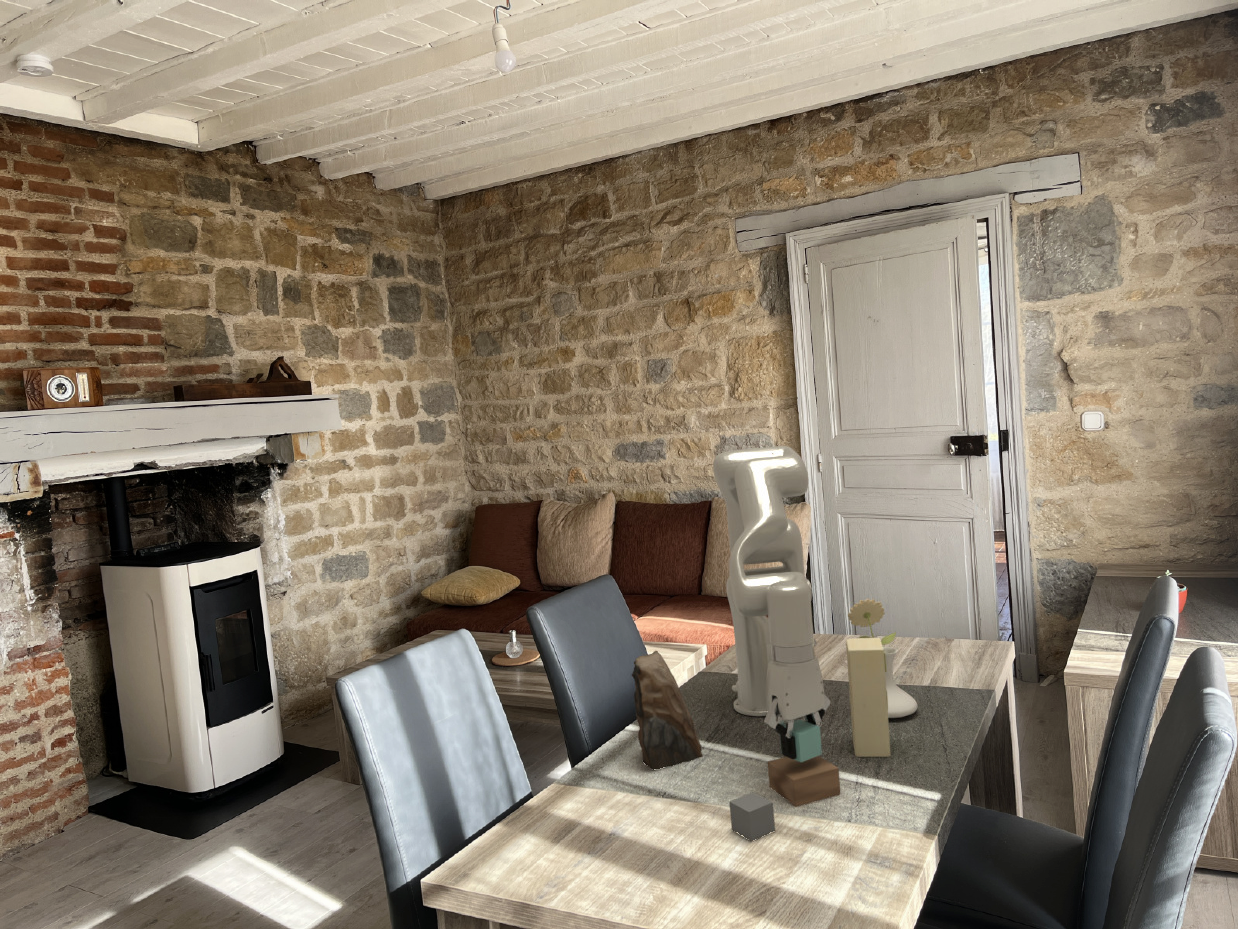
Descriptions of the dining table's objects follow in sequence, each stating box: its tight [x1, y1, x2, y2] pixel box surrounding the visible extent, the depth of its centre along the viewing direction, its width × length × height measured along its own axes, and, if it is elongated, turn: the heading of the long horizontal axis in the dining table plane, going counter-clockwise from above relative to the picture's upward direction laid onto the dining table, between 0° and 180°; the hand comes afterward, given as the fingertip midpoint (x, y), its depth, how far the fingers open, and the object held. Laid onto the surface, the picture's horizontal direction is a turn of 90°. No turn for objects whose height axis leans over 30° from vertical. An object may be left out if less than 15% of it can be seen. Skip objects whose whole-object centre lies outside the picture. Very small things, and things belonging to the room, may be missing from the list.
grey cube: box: [728, 791, 776, 842], centre depth 143 cm, size 5×5×5 cm
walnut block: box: [767, 755, 841, 808], centre depth 156 cm, size 9×9×5 cm
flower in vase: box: [847, 598, 919, 719], centre depth 187 cm, size 13×11×25 cm
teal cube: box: [779, 719, 823, 762], centre depth 155 cm, size 5×5×5 cm
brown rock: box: [631, 650, 704, 771], centre depth 177 cm, size 13×13×20 cm
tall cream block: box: [845, 637, 891, 758], centre depth 170 cm, size 8×7×21 cm
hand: (801, 751), depth 155 cm, fingers closed on teal cube, 5 cm apart
